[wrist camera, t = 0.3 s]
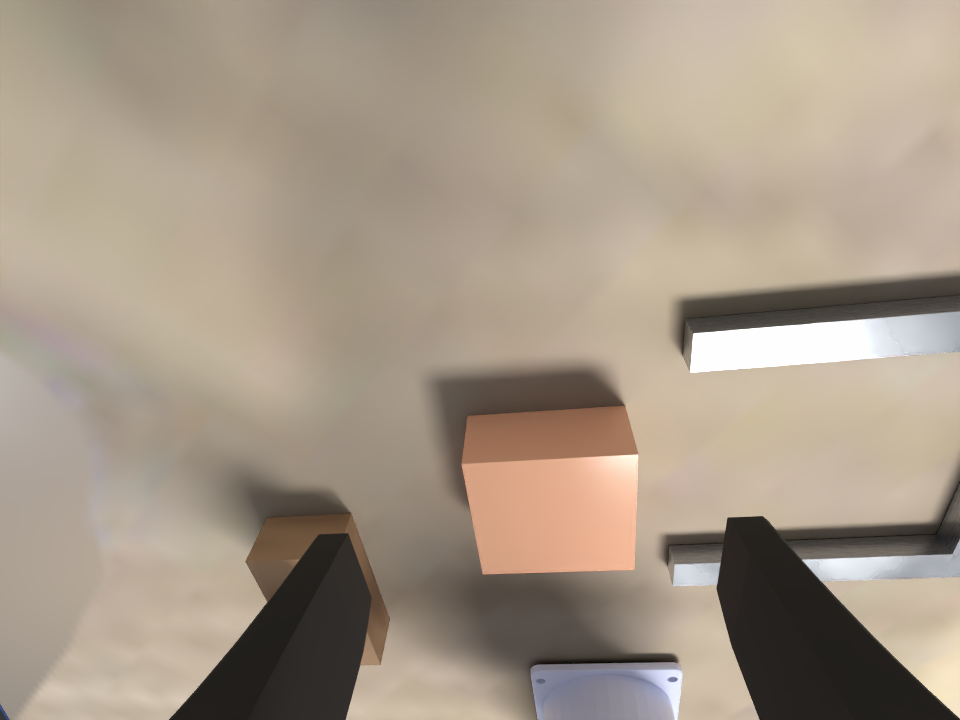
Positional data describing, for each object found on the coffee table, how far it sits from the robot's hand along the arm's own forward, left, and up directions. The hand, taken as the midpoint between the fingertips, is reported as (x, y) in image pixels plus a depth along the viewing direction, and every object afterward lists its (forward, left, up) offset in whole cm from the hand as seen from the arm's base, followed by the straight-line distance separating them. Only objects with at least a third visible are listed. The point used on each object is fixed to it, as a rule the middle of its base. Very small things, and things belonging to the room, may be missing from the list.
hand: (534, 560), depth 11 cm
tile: (-7, 0, -10) cm, 12 cm away
